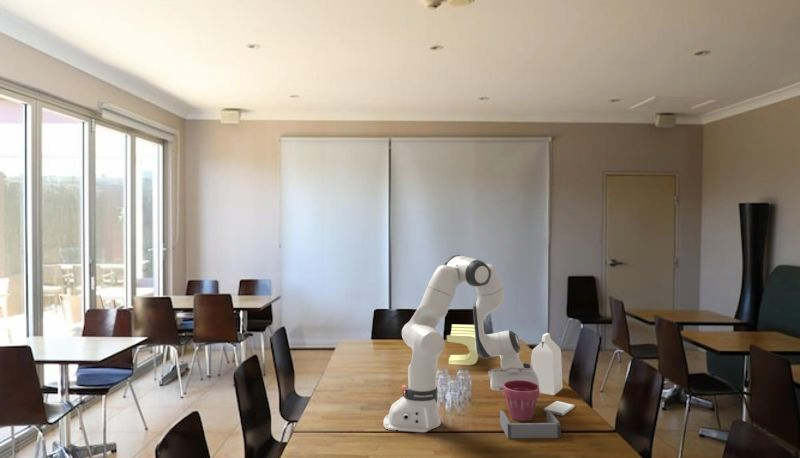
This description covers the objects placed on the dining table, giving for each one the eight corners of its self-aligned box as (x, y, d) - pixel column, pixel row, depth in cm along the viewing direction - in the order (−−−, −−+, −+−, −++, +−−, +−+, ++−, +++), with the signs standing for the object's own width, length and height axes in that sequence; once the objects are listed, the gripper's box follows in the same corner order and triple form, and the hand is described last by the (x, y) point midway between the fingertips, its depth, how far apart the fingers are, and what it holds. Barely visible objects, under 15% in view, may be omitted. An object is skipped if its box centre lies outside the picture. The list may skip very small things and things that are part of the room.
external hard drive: (543, 412, 218) (556, 404, 227) (562, 417, 212) (574, 408, 222) (543, 408, 218) (556, 400, 227) (562, 413, 212) (574, 404, 222)
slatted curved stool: (476, 369, 279) (476, 336, 279) (447, 368, 282) (446, 335, 282) (479, 355, 308) (479, 325, 308) (452, 354, 311) (452, 324, 311)
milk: (538, 384, 254) (538, 330, 253) (562, 388, 247) (562, 333, 246) (529, 390, 244) (529, 335, 243) (553, 395, 237) (553, 338, 237)
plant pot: (500, 420, 207) (500, 388, 207) (506, 408, 221) (506, 378, 220) (537, 425, 202) (537, 392, 202) (541, 412, 216) (541, 382, 215)
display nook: (507, 438, 191) (507, 424, 191) (500, 423, 205) (500, 410, 205) (560, 437, 191) (560, 424, 191) (549, 422, 205) (549, 410, 205)
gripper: (488, 365, 224) (493, 395, 215) (536, 365, 225) (542, 395, 215) (486, 372, 229) (491, 402, 219) (533, 372, 229) (539, 402, 220)
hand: (517, 399), depth 217 cm, fingers closed, pressing on plant pot
